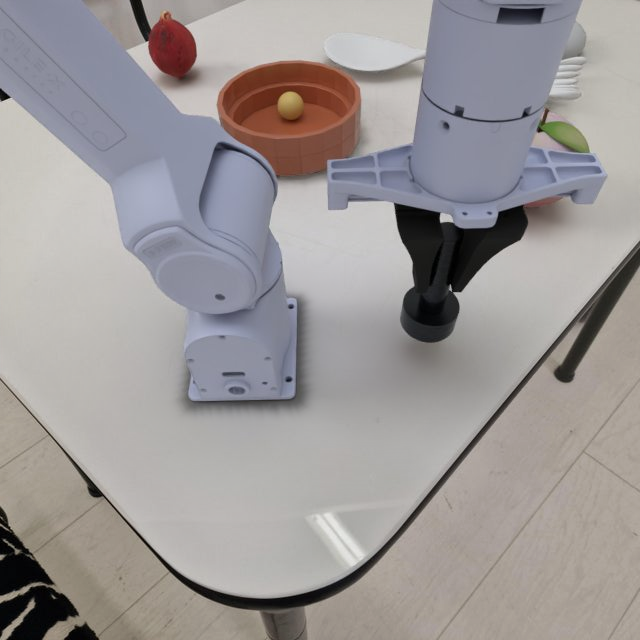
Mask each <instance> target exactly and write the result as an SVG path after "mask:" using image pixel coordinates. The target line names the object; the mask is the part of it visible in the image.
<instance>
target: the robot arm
mask: <svg viewBox="0 0 640 640" xmlns="http://www.w3.org/2000/svg"><path fill="white" fill-rule="evenodd" d="M582 4H583V0H432V4H431V10H430V11H431V12H430V17H429V19H430V20H429V25H428V26H429V27H428V33H427V41H426V47H425V49H426V54H425V59H424V62H423V68H422V76H421V83H420V89H419V90H420V91H419V96H418V104H417V111H416V116H415V125H414V132H413V139H412V142H410V143H407V144H402V145H399V146H394V147H390V148H387V149H386V148H385V149H382V150H378V151H375V152H371V153H366V154H363V155H358V156H353V157H345V158H344V159H333V160H327V168H326V175H327V176H326V178H327V180H326V181H327V182H326V184H327V188H326V189H327V210H328V211H343V210H347V209H348V207H349V203H362V202H363V203H364V202H365V203H366V202H368V203H369V202H387V203H393V207H394V208H393V209H394V214H395V219H396V227H397V232H398V234H399V235H398V236H399V238H400V240H401V243H402V244H403V245H404V248H405V249H406V250H407V253H408V254H409V257H410V259H411V262H412V268H411V270H412V271H411V273H412V274H411V275H412V280H413V285H414V286H413V287H415V292H416V293H426V292H427V290H428V288H429V283H430V276H431V269H432V265H433V262H434V259H435V256H436V254H437V251H438V249H439V247H440V245H441V244H442V242H443V241H444V236H443V231H442V227H441V223H442V222H441V214H445V215H450V216H451V218H452V222H453V223H454V224H455V225H456V226H458V227H460V228H462V229H463V231H464V237H463V241H462V244H461V248H460V252H459V255H458V259H457V262H456V266H455V269H454V273H453V277H452V280H451V284H450V290H451V291H452V293H454V294H456V293H462V292H463V291H464V289H466V287H467V286H468V285H469V283H470V282H471V281H472V279H473V278H474V277H475V276H476V274H477V273H478V272H479V271H480V270H481V269H482V268H483V267H484V266H485V265H486V264H487V262H489V261H490V260H491V259H492V258H493V257H495V256H496V255H498V254H499V253H500V252H502V251H503V250H505V249H506V248H508V247H510V246H512V245H514V244H516V243H519V242H520V241H521V240H522V238H523V237H524V235H525V233H526V231H527V228H528V226H529V220H528V216H527V213H526V211H525V209H524V208H525V207H524V204H527V203H530V202H534V201H537V200H541V199H544V198H547V197H563V198H570V200H571V201H572V202H573V204H575V205H593V204H594V203H595V201H596V199H597V197H598V196H599V193H600V191H601V190H602V187H603V186H604V184H605V182H606V180H607V178H608V174H607V172H606V170H605V169H604V167H603V164H602V162H601V161H600V160H599V157H598V155H597V153H595V152H590V153H575V152H565V151H558V150H552V149H547V148H541V147H535V146H531V144H532V141H533V139H534V136H535V133H536V130H537V127H538V124H539V122H540V118H541V116H542V113H543V111H545V108H546V104H547V100H548V99H549V98H548V97H549V94H550V91H551V88H552V85H553V82H554V80H555V77H556V74H557V71H558V68H559V65H560V63H561V60H562V57H563V54H564V51H565V48H566V46H567V43H568V40H569V37H570V34H571V31H572V29H573V26H574V23H575V21H577V17H578V14H579V12H580V9H581V6H582ZM0 89H1V90H2V91H3V92H4V93H5V94H7V96H9V97H10V98H11V99H12V100H13V101H14V102H15V103H16V104H18V105H19V106H20V107H21V108H22V109H23V110H24V111H26V112H27V113H28V115H30V116H31V117H32V118H33V119H35V120H36V121H37V122H38V123H39V124H40V125H42V126H43V127H44V128H45V129H46V130H47V131H48V132H49V133H50V134H52V135H53V136H54V137H55V138H56V139H57V140H58V141H59V142H61V143H62V145H64V146H65V147H66V148H67V149H69V150H70V151H71V152H72V153H73V154H74V155H75V156H77V157H78V158H79V159H80V161H82V162H83V163H84V164H86V166H88V167H89V168H90V169H91V170H92V171H93V172H94V173H96V174H97V175H98V176H99V177H100V178H101V179H103V181H105V182H106V183H107V184H108V185H109V187H110V190H111V193H112V197H113V202H114V207H115V213H116V218H117V223H118V228H119V234H120V238H121V242H122V246H123V247H124V249H125V250H127V251H128V252H129V253H130V254H132V256H134V257H135V258H136V259H138V260H139V261H140V262H141V263H142V264H143V266H145V268H146V269H147V271H148V273H149V274H150V276H151V279H152V280H153V282H154V284H155V285H156V287H157V288H158V289H159V290H160V291H161V292H162V293H163V294H164V296H166V297H168V298H169V299H170V300H171V301H173V302H174V303H176V304H177V305H180V306H181V307H183V308H184V309H185V313H186V330H185V338H184V343H183V358H184V362H185V363H186V365H187V369H188V370H189V373H190V381H189V385H188V392H187V395H188V398H189V399H190V401H193V402H213V401H214V402H218V401H221V402H222V401H262V400H263V401H267V400H291V399H293V398H294V397H295V396H296V390H297V389H296V388H297V387H296V385H297V382H296V381H297V380H296V379H297V341H298V340H297V339H298V338H297V337H298V300H297V299H296V298H294V297H287V288H286V281H285V279H286V278H285V272H284V264H283V254H282V250H281V247H280V245H279V242H278V241H277V239H276V237H275V236H274V234H273V232H272V231H271V229H270V225H271V224H270V223H271V219H272V213H273V207H274V205H275V202H276V200H277V197H278V192H279V183H278V177H277V175H276V174H275V172H274V170H273V168H272V166H271V165H270V164H269V162H268V161H267V160H266V159H265V158H264V157H263V156H262V155H261V154H259V153H258V152H257V151H255V150H254V149H252V148H250V147H248V146H246V145H244V144H242V143H240V142H238V141H237V140H235V139H234V138H233V137H231V136H230V135H229V134H228V133H227V132H226V131H225V130H224V129H223V128H222V126H221V124H220V122H218V120H217V119H216V118H215V117H212V116H206V115H196V114H188V113H187V114H186V113H183V112H181V111H180V110H179V109H178V107H177V106H176V105H175V104H174V103H173V102H172V101H171V100H170V98H168V96H167V95H166V94H165V93H164V92H163V91H162V90H161V89H160V87H159V86H158V85H157V84H156V83H155V81H154V80H153V79H152V78H151V77H150V76H149V75H148V74H147V72H146V71H145V69H143V68H142V66H140V65H139V64H138V63H137V61H136V60H135V59H134V58H133V57H132V55H130V53H129V52H128V50H126V49H125V48H124V46H122V44H121V43H120V42H119V41H118V40H117V38H116V37H115V36H114V35H113V34H112V33H111V32H110V31H109V29H107V27H106V26H105V25H104V24H103V23H102V21H100V19H99V18H98V17H97V16H96V15H95V14H94V12H93V11H92V10H91V9H90V8H89V7H88V6H87V5H86V3H85V2H84V1H83V0H0ZM287 380H291V381H287Z"/></svg>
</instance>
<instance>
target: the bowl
mask: <svg viewBox="0 0 640 640" xmlns="http://www.w3.org/2000/svg"><path fill="white" fill-rule="evenodd" d="M286 92H295V93H297V94H298V95H300V97H301V98H302V100H303V103H304V109H303V112H302V114H301V116H300V117H298V118H297V119H295V120H287V119H285V118H283V117H282V116H281V115H280V113H279V111H278V100H279V98H280V97H281V95H283V94H284V93H286ZM216 110H217V114H218V119H219V124H220V125H221V126H222V128H223V129H224V130H225V131H226V132H227V133H228V134H229V135H230V136H231V137H233V138H234V139H235V140H237V141H238V142H240V143H242V144H244V145H246V146H248V147H250V148H252V149H254V150H255V151H257V152H258V153H259V154H261V155H262V156H263V157H264V158H265V159H266V160H267V161H268V162H269V164H270V165H271V166H272V168H273V170H274V172H275V174H276V176H284V177H286V176H287V177H290V176H293V177H294V176H303V175H308V174H313V173H316V172H320V171H324V170H327V160H333V159H345V158H348V156H349V155H350V154H351V153H352V152H353V151H354V150H355V148H356V146H357V144H358V142H359V140H360V137H361V116H362V115H361V114H362V94H361V88H360V86H359V85H358V83H357V82H356V80H355V79H354V78H353V77H352V76H351V75H349V74H348V73H346V72H345V71H343V70H341V69H340V68H337V67H335V66H331V65H328V64H325V63H322V62H318V61H317V62H316V61H308V60H301V59H299V60H296V59H295V60H294V59H293V60H277V61H273V62H267V63H263V64H259V65H256V66H253V67H251V68H247V69H245V70H243V71H241V72H239V73H238V74H237V75H235V76H233V77H232V78H230V79H229V80H228V81H226V83H225V84H224V85H223V87H222V88H221V89H220V90H219V92H218V95H217V100H216Z"/></svg>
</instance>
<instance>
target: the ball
mask: <svg viewBox="0 0 640 640" xmlns="http://www.w3.org/2000/svg"><path fill="white" fill-rule="evenodd" d="M303 109H304V103H303V100H302V98H301V97H300V95H298V94H297V93H295V92H286V93H284V94H283V95H281V97H280V98H279V100H278V111H279V113H280V115H281V116H282V117H283V118H285V119H287V120H295V119H297V118H298V117H300V116H301V114H302V112H303Z"/></svg>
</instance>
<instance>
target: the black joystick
mask: <svg viewBox="0 0 640 640" xmlns="http://www.w3.org/2000/svg"><path fill="white" fill-rule="evenodd" d="M441 227H442V231H443V236H444V241H443V242H442V244H441V245H440V247H439V249H438V251H437V254H436V256H435V259H434V262H433V265H432V269H431V276H430V283H429V288H428V290H427V292H426V293H416V292H415V287H414V286H412V287H410V288H409V289H408V290H407V291H406V292H405V294H404V296H403V299H402V304H401V310H400V316H399V320H400V325H401V328H402V330H403V331H404V332H405V333H406V334H407V335H408V336H409V337H410V338H411V339H413V340H416V341H418V342H421V343H427V344H434V343H439V342H442V341H444V340H446V339H448V338H449V337H450V336H451V335H452V333H453V332H454V329H455V328H456V327H455V326H456V324H457V320H458V318H459V315H460V310H461V306H460V305H461V304H460V300H459V299H458V297H457V296H456V295H455V294H456V293H452V290H451V289H450V288H451V285H450V284H451V280H452V277H453V273H454V269H455V266H456V262H457V259H458V255H459V252H460V248H461V244H462V241H463V237H464V231H463V229H462V228H460V227H458V226H456V225H455V224H454V222H453V221H442V222H441Z"/></svg>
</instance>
